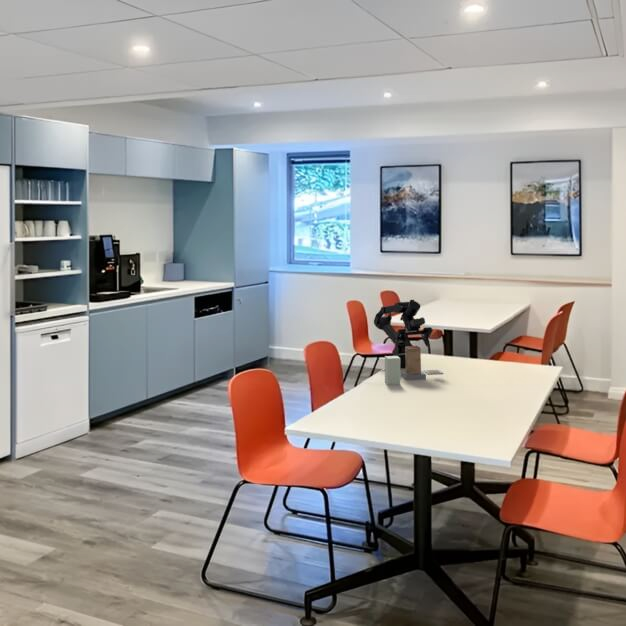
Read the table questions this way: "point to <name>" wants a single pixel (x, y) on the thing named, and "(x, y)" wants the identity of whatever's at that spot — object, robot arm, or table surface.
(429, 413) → the table surface
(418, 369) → the walnut pillar
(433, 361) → the table surface
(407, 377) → the slate block
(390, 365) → the sage pillar
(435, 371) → the tile
